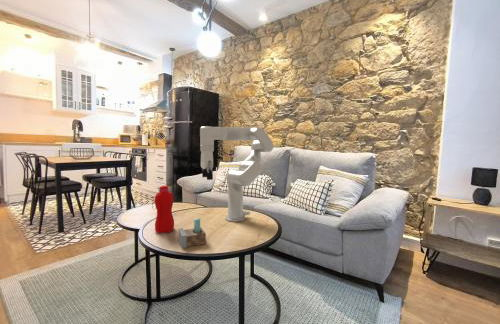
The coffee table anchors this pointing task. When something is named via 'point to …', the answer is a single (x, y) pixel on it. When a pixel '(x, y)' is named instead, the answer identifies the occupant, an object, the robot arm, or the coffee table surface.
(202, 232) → the block
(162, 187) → the water bottle
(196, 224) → the dowel
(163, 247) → the coffee table surface
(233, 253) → the coffee table surface
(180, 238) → the wall
